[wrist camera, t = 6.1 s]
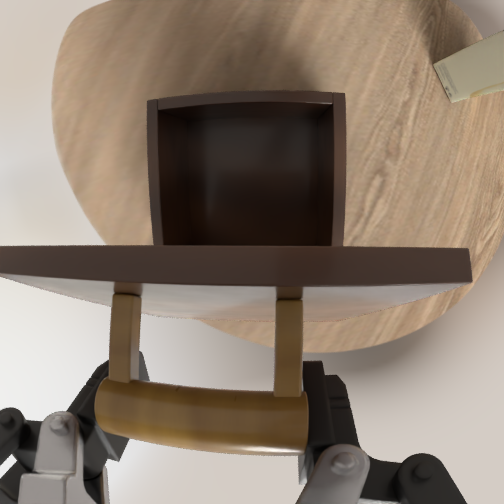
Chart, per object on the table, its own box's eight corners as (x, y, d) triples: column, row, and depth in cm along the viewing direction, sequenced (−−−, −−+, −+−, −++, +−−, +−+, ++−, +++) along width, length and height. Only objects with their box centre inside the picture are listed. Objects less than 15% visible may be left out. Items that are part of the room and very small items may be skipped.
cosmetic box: (449, 104, 22) (533, 87, 11) (430, 63, 21) (505, 26, 10) (488, 90, 21) (567, 76, 9) (471, 53, 20) (545, 24, 8)
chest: (180, 114, 25) (146, 100, 17) (325, 111, 24) (345, 92, 16) (188, 271, 29) (161, 308, 22) (322, 272, 28) (337, 312, 21)
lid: (-10, 245, 7) (-17, 410, 5) (469, 247, 6) (463, 463, 4) (159, 305, 21) (156, 373, 20) (338, 309, 20) (337, 381, 19)
